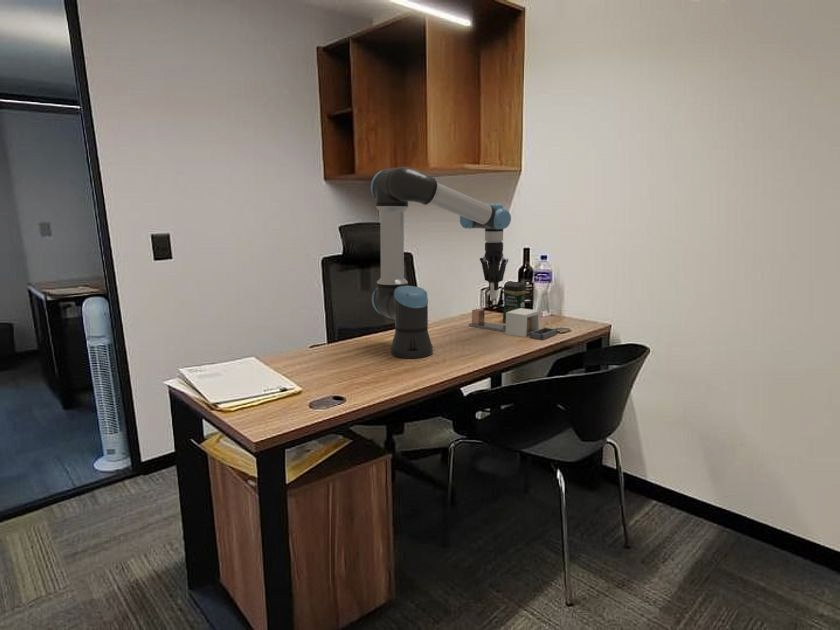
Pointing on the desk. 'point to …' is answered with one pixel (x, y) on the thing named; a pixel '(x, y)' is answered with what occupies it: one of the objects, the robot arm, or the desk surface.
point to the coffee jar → (514, 297)
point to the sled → (479, 323)
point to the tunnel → (521, 321)
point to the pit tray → (543, 333)
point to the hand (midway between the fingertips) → (493, 297)
